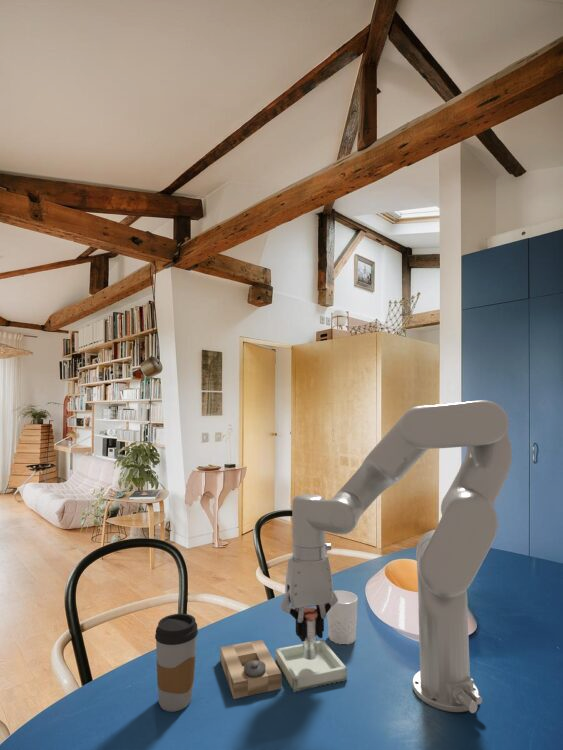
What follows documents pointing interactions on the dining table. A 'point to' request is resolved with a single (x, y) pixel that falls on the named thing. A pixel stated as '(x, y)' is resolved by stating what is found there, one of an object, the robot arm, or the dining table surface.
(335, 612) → the white cup
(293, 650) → the tray
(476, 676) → the dining table surface
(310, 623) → the pin
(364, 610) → the dining table surface
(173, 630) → the coffee cup
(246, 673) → the block
